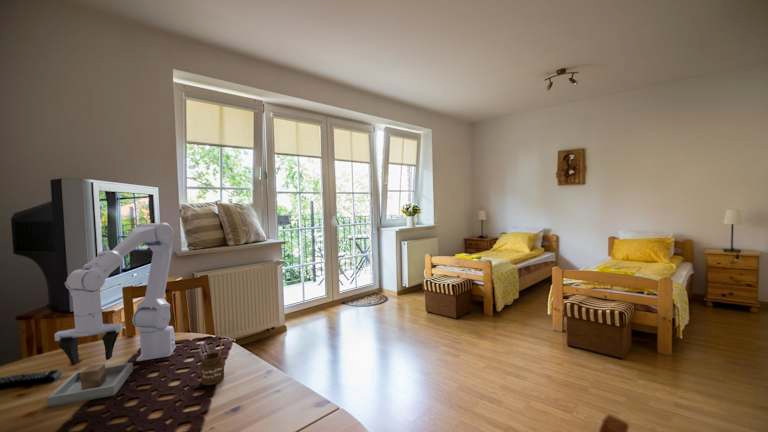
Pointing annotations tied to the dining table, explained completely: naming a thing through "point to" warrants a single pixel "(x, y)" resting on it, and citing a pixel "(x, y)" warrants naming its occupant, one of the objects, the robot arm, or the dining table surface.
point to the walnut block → (93, 376)
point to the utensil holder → (212, 367)
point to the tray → (74, 392)
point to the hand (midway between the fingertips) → (92, 360)
